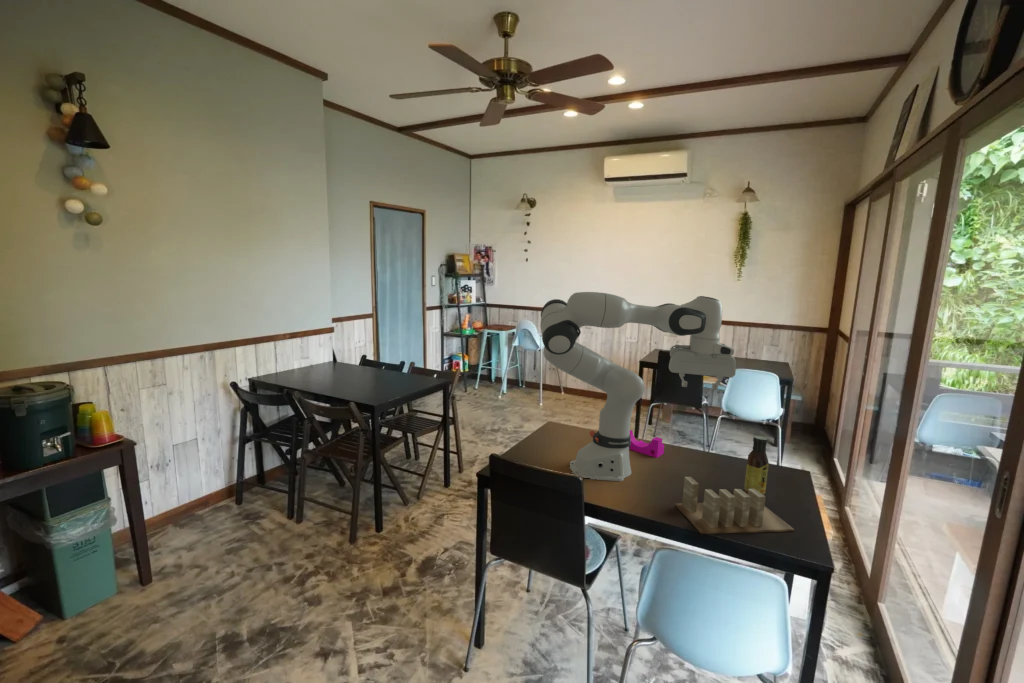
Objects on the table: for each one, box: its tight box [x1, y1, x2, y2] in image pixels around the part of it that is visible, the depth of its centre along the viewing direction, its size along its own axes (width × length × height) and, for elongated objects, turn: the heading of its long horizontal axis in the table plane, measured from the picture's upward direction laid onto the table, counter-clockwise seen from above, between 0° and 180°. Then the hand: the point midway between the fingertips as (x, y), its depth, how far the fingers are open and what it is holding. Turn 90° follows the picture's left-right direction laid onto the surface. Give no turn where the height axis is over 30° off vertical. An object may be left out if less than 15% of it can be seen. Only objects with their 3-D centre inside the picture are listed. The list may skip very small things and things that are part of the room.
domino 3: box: [718, 488, 736, 527], centre depth 132 cm, size 2×5×9 cm, turn 6°
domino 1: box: [681, 476, 700, 512], centre depth 140 cm, size 2×5×9 cm, turn 6°
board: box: [674, 502, 795, 535], centre depth 137 cm, size 28×16×1 cm, turn 96°
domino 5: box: [748, 489, 766, 526], centre depth 133 cm, size 2×5×9 cm, turn 6°
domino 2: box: [702, 488, 721, 527], centre depth 132 cm, size 2×5×9 cm, turn 6°
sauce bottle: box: [743, 435, 770, 497], centre depth 150 cm, size 7×6×20 cm
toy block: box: [629, 429, 665, 458], centre depth 187 cm, size 15×6×8 cm, turn 48°
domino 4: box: [732, 488, 751, 527], centre depth 133 cm, size 2×5×9 cm, turn 6°
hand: (699, 388), depth 150 cm, fingers open, 8 cm apart
